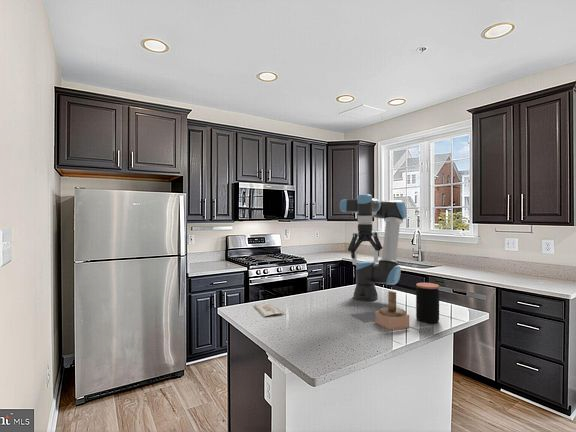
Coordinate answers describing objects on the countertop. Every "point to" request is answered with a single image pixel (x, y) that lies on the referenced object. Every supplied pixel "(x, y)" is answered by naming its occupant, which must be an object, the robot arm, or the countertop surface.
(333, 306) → the countertop surface
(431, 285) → the coffee jar
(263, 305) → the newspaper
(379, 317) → the pink open box
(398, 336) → the countertop surface
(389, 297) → the lid
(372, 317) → the mat
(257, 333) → the countertop surface
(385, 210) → the robot arm
